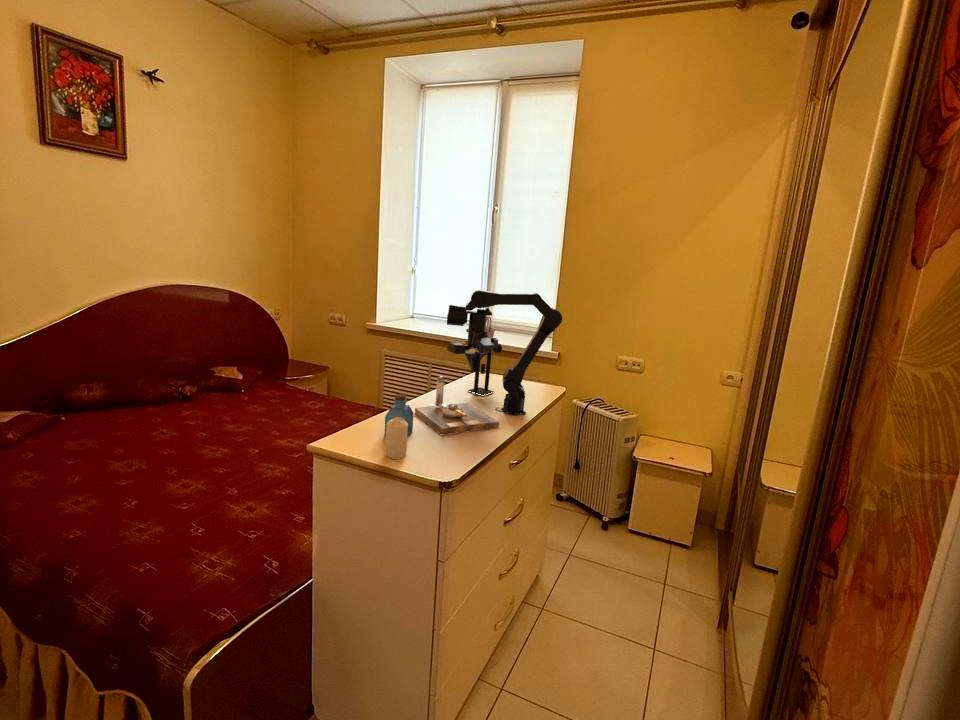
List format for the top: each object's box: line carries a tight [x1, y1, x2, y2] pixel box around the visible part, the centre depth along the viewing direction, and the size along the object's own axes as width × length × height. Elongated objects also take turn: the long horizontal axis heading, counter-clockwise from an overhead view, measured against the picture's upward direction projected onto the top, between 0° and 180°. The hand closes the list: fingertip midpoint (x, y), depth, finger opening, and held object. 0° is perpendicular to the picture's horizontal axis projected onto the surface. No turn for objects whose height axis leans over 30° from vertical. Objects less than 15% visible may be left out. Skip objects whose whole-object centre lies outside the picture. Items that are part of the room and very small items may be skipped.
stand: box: [414, 402, 500, 436], centre depth 159 cm, size 20×20×2 cm
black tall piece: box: [467, 316, 496, 395], centre depth 190 cm, size 10×8×30 cm
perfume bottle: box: [383, 393, 415, 439], centre depth 141 cm, size 6×6×12 cm
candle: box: [384, 417, 408, 460], centre depth 128 cm, size 6×6×10 cm
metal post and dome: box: [434, 375, 467, 418], centre depth 156 cm, size 6×18×10 cm, turn 33°
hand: (473, 372), depth 170 cm, fingers closed
